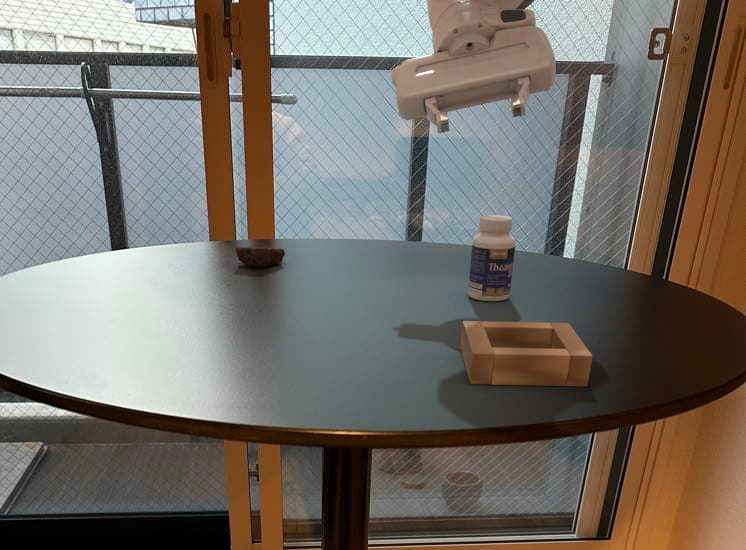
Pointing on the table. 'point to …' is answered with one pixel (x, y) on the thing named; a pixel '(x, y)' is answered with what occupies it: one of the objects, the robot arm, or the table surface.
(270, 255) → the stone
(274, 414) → the table surface
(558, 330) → the socket block
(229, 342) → the table surface
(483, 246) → the pill bottle
